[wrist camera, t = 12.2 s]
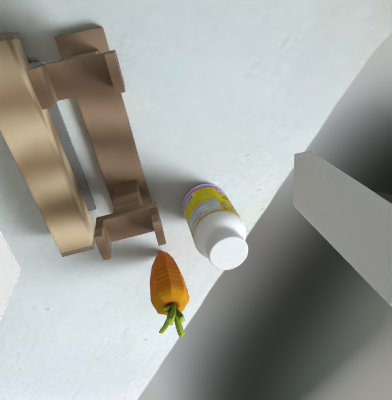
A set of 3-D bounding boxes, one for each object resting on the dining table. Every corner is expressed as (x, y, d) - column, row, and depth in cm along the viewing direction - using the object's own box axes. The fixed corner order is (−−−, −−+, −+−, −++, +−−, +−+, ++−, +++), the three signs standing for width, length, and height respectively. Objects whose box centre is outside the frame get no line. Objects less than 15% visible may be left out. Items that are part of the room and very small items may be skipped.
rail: (-24, 40, 32) (-44, 41, 29) (16, 32, 33) (2, 32, 29) (67, 237, 45) (62, 256, 41) (95, 230, 45) (93, 248, 41)
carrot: (176, 263, 52) (195, 341, 39) (146, 266, 51) (154, 347, 38) (177, 238, 50) (198, 311, 37) (145, 240, 49) (154, 317, 36)
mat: (-17, 72, 34) (-19, 72, 34) (40, 60, 35) (39, 61, 34) (52, 217, 44) (51, 220, 43) (95, 207, 44) (95, 209, 44)
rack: (47, 37, 34) (14, 41, 23) (111, 25, 35) (106, 24, 24) (111, 216, 45) (108, 274, 35) (158, 204, 46) (169, 257, 35)
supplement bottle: (229, 212, 49) (261, 265, 38) (189, 227, 49) (209, 284, 38) (219, 175, 46) (250, 221, 35) (176, 190, 46) (193, 242, 35)
